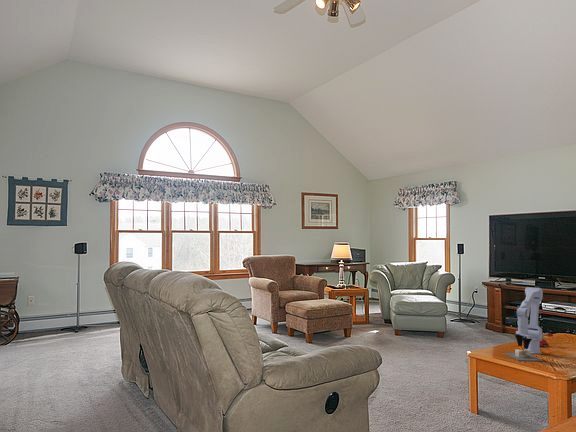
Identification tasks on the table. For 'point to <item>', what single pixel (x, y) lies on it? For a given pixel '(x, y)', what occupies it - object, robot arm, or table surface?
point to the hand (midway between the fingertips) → (523, 347)
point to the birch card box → (522, 353)
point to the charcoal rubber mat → (523, 357)
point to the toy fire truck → (544, 342)
